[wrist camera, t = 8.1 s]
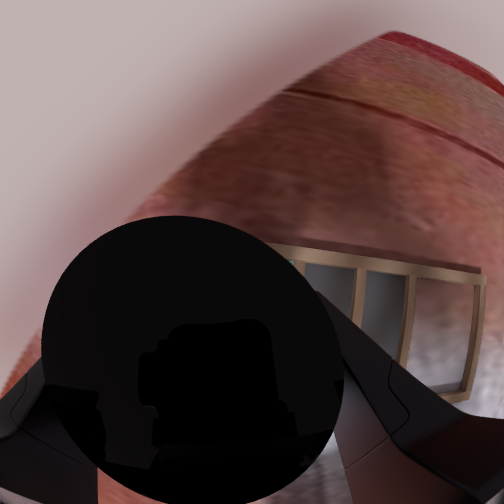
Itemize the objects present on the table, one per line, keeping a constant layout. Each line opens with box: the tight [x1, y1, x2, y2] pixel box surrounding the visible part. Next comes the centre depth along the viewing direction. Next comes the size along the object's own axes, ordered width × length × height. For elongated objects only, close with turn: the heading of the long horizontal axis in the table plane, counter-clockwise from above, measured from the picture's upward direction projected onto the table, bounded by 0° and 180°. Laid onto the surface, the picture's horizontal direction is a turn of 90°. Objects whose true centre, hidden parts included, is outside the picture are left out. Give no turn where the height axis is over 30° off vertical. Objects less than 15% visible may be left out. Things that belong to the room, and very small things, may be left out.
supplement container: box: [41, 216, 344, 504], centre depth 10 cm, size 7×7×10 cm
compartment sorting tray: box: [264, 242, 486, 404], centre depth 19 cm, size 31×13×1 cm, turn 82°
